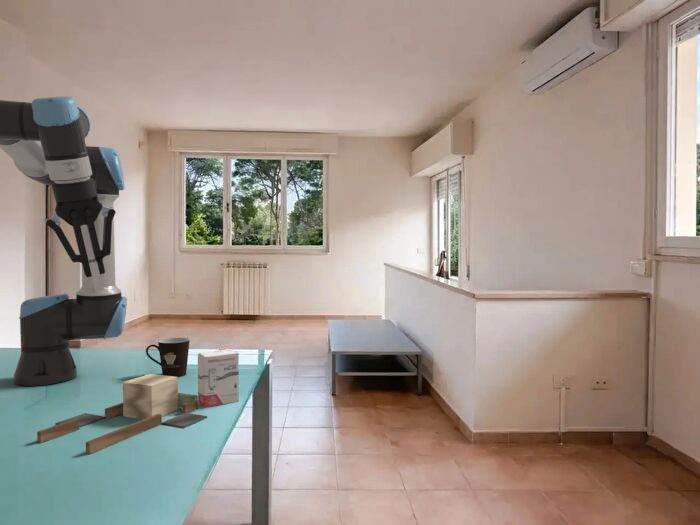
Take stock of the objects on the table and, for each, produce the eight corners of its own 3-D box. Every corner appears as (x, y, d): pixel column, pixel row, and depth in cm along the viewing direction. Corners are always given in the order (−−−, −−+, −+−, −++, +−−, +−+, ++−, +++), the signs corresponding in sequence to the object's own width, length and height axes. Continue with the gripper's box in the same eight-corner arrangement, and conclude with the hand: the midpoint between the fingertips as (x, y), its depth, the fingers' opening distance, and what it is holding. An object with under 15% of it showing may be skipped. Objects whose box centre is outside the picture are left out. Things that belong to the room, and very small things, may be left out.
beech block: (123, 416, 111) (122, 382, 111) (150, 406, 119) (150, 373, 119) (152, 421, 108) (151, 385, 108) (178, 410, 116) (177, 376, 116)
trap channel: (16, 437, 99) (16, 422, 99) (132, 398, 124) (132, 386, 124) (114, 459, 88) (114, 442, 88) (219, 412, 114) (219, 398, 114)
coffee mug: (196, 373, 150) (196, 338, 149) (175, 380, 142) (174, 343, 141) (166, 369, 154) (165, 336, 154) (143, 375, 147) (143, 340, 146)
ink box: (203, 408, 117) (203, 356, 116) (197, 402, 121) (196, 352, 120) (240, 401, 122) (239, 351, 121) (232, 396, 126) (231, 348, 125)
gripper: (35, 187, 95) (66, 303, 103) (110, 177, 101) (134, 286, 110) (33, 181, 101) (63, 291, 109) (104, 171, 107) (127, 276, 116)
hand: (98, 288), depth 109 cm, fingers closed
